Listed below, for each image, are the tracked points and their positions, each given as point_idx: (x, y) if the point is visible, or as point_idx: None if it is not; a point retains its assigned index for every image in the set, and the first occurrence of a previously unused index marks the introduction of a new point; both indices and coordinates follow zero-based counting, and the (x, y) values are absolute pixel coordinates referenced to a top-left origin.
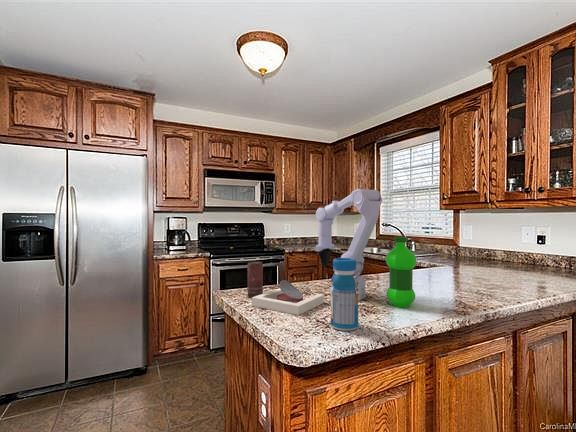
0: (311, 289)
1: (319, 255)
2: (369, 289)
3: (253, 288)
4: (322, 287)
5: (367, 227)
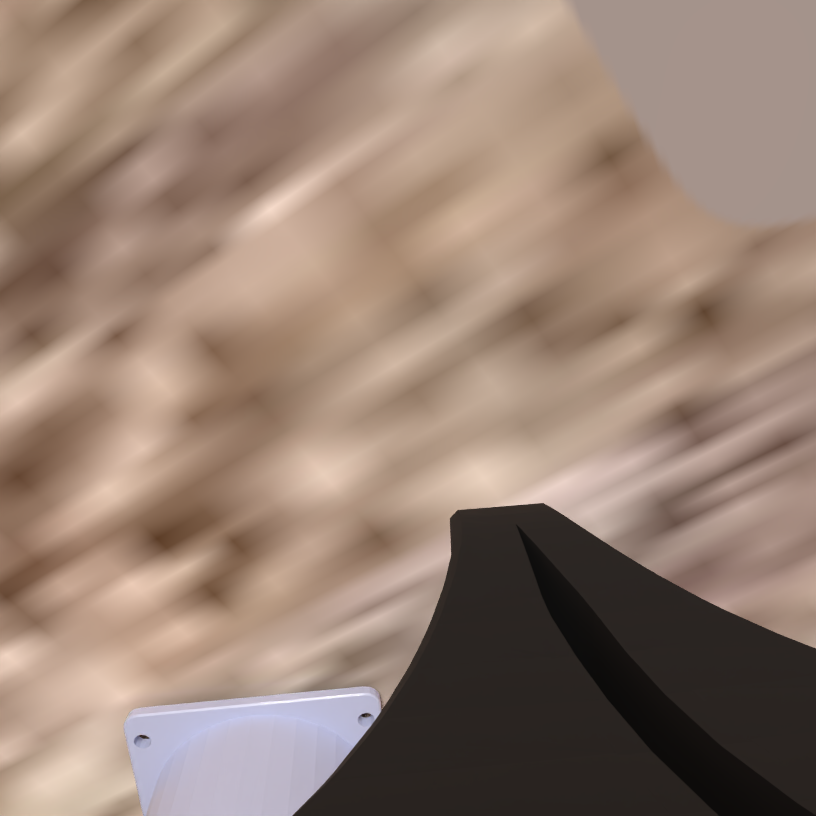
0: (320, 175)
1: (374, 739)
2: None
3: None
4: (558, 249)
5: None
